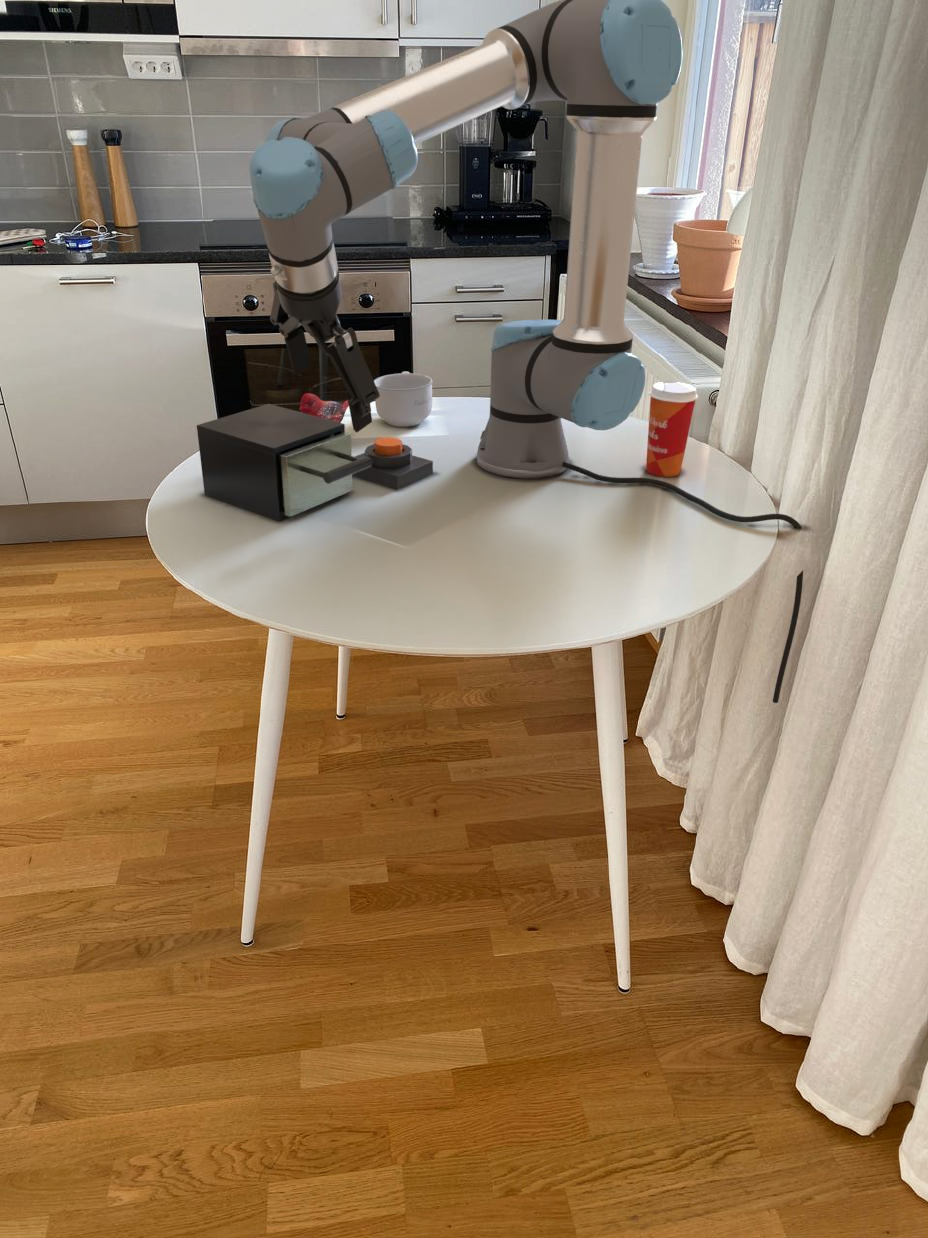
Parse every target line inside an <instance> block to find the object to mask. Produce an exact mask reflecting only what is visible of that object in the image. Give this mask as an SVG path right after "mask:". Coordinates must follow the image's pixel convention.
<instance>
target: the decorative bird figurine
mask: <svg viewBox="0 0 928 1238" xmlns="http://www.w3.org/2000/svg"><path fill="white" fill-rule="evenodd" d="M347 401H348V399H347V400H345V401H344V402H343V403H341V402H337V401H332V400H321V399H320V398H319V396H317V395H316V394H314V393H310V392H306V393H304V394H303V395H302V397H301V399H300V406H299V409H298V410H299V411H298V412H301V413H305V414H309V415H313V416H316V417H320V418H324V419H328V420H331V421H335V422H339V423H342V421H343V419H344V417H345V414H346V411H347V410H348V408H349V404H348V402H347Z"/></svg>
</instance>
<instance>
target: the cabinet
mask: <svg viewBox="0 0 928 1238" xmlns="http://www.w3.org/2000/svg"><path fill="white" fill-rule="evenodd" d="M196 431H197V440H198V450H199V456H200V459H199V460H200V467H201V475H202V483H203V492H204V496H207V497H209V498H212V499H214V500H218V501H221V502H223V503H226V504H229V505H231V506H234V507H237V508H240V509H243V510H246V511H248V512H251V513H254V514H257V515H259V516H263V517H266V518H269V519H271V520H274V521H277V522H282V521H284V520H286V519H288V518H291V517H290V516H287V515H285V511H284V508H283V503H282V489H281V475H280V461H279V453H280V452H283V451H286V450H288V449H291V448H294V447H297V446H300V445H303V444H305V443H308V442H311V441H314V440H317V439H320V438H323V437H325V436H328V435H331V434H334V436H335V435H338V434H341V433H344V432H346V425H345V423H342V422H341V423H339V422H335V421H331V420H328V419H324V418H320V417H316V416H313V415H309V414H305V413H302V412H301V411H298V410H293V409H290V408H286V407H282V406H278V405H275V404H271V403H267V404H264V405H260V406H257V407H254V408H250V409H247V410H242V411H239V412H237V413H233V414H230V415H226V416H223V417H220V418H216V419H213V420H210V421H206V422H202V423H199V424H197V425H196Z"/></svg>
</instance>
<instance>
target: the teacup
mask: <svg viewBox="0 0 928 1238" xmlns="http://www.w3.org/2000/svg"><path fill="white" fill-rule="evenodd" d="M373 380H374V383H375V385H376V387H377V390H378V392H379V395H380V397H379V398H377V399H376V400H374V403H375V410H376V413H377V414H378V417H379V418H380V419H381V420H383V421H385V423H387V425H390V426H392V427H398V428H399V427H402V428H405V427H406V428H407V427H412V426H413V427H414V426H418V425H419V424H422V423H423V422H424V421H425V419H427V418H428V417H429V415H431V413H432V409H433V379H432V377H431V376H429V375H425V374H421V373H414V372H413V373H411V372H409V371H402V372H401V373H393V374H392V373H391V374H386V375H382V376H379V377H376V378H375V379H373Z"/></svg>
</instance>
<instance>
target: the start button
mask: <svg viewBox="0 0 928 1238" xmlns="http://www.w3.org/2000/svg"><path fill="white" fill-rule="evenodd" d="M373 442H374V443H373V444H374V446H375V453H377V454H380V455H398V454H400V453H402V444H403V441H402V439H400V438H397V437H391V436H390V437H389V436H388V437H385V436H384V437H379V438H377V439H375V440H374V441H373Z"/></svg>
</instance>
